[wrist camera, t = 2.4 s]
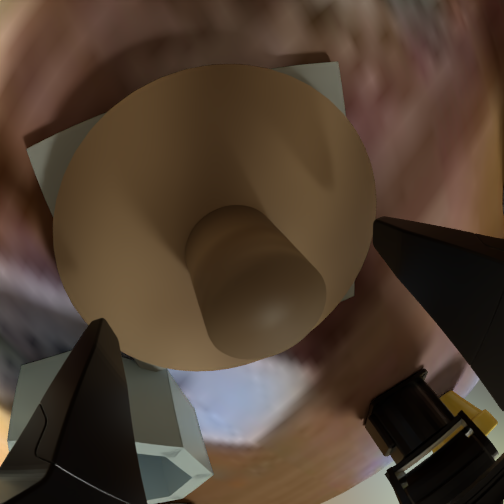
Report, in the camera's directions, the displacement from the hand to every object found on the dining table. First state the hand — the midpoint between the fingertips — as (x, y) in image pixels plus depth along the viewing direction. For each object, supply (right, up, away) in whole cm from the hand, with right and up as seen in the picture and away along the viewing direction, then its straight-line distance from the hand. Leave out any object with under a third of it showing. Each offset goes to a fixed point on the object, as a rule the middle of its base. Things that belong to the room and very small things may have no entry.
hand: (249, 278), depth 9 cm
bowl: (-8, -8, +5) cm, 13 cm away
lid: (-1, +1, +2) cm, 3 cm away
